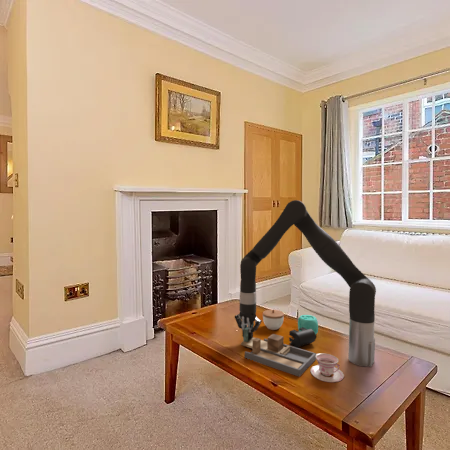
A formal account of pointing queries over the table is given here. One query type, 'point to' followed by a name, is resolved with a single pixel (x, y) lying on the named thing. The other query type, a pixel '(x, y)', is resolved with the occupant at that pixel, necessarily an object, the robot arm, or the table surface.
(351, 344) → the robot arm
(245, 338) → the strip
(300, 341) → the end cap
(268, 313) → the lidded jar
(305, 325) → the decorative dice
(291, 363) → the strip
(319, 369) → the teacup
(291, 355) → the tray
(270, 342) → the walnut cube
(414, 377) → the table surface
